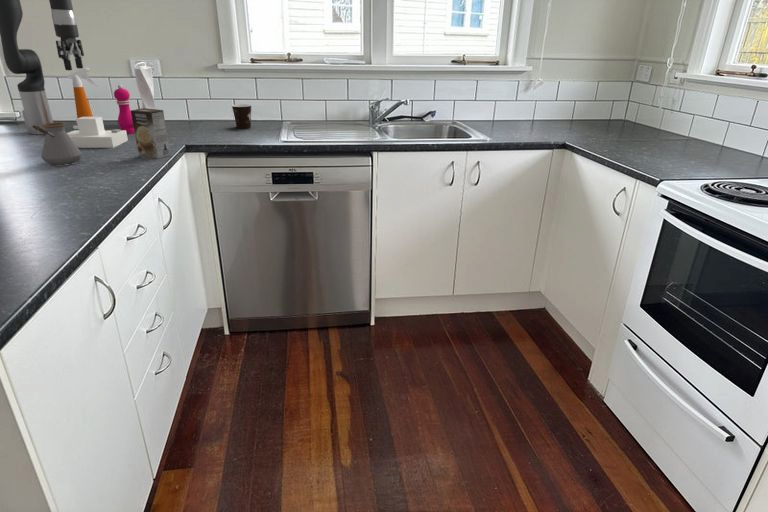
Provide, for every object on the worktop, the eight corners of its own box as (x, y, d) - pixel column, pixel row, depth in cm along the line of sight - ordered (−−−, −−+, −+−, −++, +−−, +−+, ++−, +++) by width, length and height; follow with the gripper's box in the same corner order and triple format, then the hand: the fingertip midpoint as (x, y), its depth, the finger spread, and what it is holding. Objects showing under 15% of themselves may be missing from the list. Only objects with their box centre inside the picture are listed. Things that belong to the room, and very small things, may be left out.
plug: (73, 140, 190) (67, 118, 187) (79, 137, 195) (75, 116, 192) (99, 140, 191) (95, 119, 188) (106, 137, 196) (101, 116, 193)
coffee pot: (51, 160, 170) (39, 115, 163) (88, 158, 172) (77, 114, 166) (24, 176, 151) (10, 126, 144) (66, 174, 153) (54, 125, 147)
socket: (58, 147, 187) (55, 134, 185) (76, 140, 200) (74, 128, 198) (113, 147, 188) (110, 134, 186) (128, 140, 201) (125, 128, 199)
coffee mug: (245, 125, 237) (242, 103, 233) (257, 127, 232) (255, 105, 228) (225, 128, 228) (222, 106, 224) (237, 130, 224) (234, 108, 220)
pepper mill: (133, 134, 213) (124, 85, 205) (116, 134, 213) (106, 85, 205) (141, 131, 219) (132, 83, 211) (125, 131, 219) (115, 83, 211)
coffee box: (137, 156, 176) (128, 110, 169) (151, 153, 181) (142, 107, 175) (158, 159, 173) (150, 111, 166) (171, 155, 179) (163, 109, 172)
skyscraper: (145, 124, 237) (134, 62, 226) (163, 124, 238) (152, 62, 226) (139, 127, 229) (127, 63, 218) (157, 127, 230) (146, 63, 219)
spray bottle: (108, 132, 217) (94, 68, 206) (80, 134, 211) (64, 68, 200) (105, 129, 222) (92, 67, 211) (78, 131, 217) (63, 67, 206)
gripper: (64, 22, 191) (73, 67, 198) (43, 22, 178) (54, 70, 185) (84, 23, 192) (93, 68, 199) (65, 23, 179) (75, 71, 186)
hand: (74, 69), depth 192 cm, fingers open, 8 cm apart
